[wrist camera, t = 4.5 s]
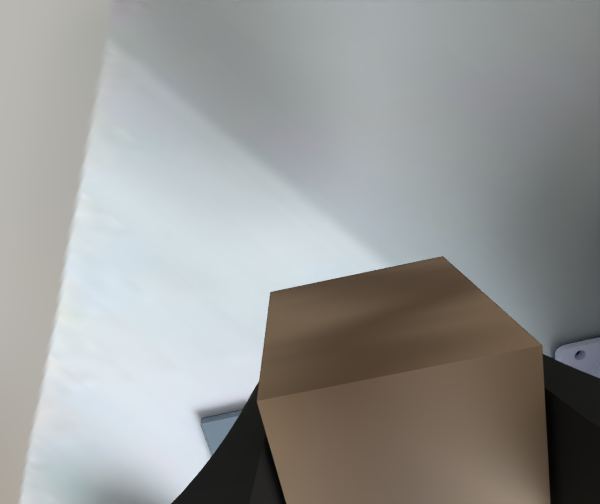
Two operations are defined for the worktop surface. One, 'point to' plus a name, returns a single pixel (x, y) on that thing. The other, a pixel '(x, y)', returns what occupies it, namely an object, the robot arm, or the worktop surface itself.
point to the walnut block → (402, 392)
